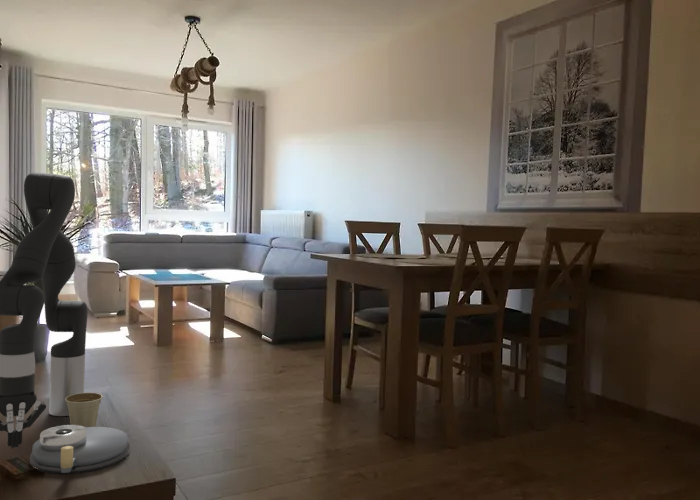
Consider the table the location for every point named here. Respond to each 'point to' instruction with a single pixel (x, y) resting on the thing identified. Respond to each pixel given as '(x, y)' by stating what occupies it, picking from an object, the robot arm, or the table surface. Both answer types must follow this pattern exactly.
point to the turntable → (85, 450)
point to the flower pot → (83, 408)
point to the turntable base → (81, 468)
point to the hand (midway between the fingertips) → (14, 446)
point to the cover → (63, 437)
